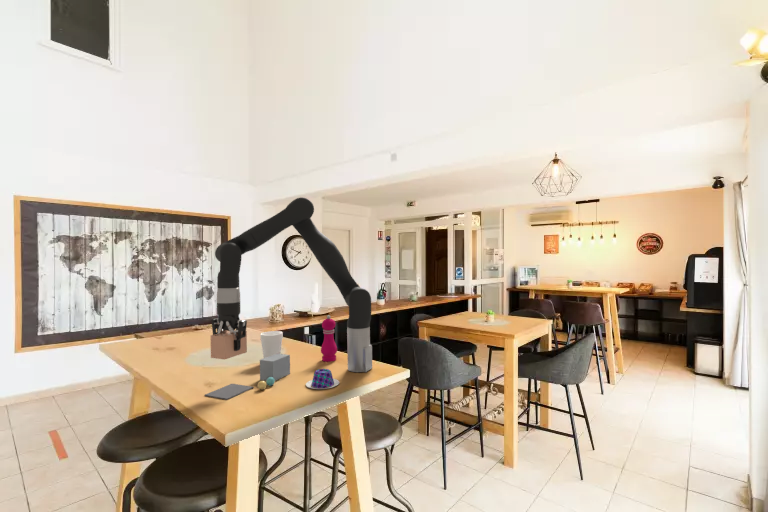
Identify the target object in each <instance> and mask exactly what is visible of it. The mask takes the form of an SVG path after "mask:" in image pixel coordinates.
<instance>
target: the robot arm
mask: <svg viewBox="0 0 768 512" xmlns="http://www.w3.org/2000/svg"><path fill="white" fill-rule="evenodd" d="M314 212H315V208H314V203H313V202H312V201H311V200H310V199H309V198H307V197H301V196H300V197H297V198H295V199H293V200H292V201H290V202H289V203H288V204H287V206H286V207H285V208H284V209H282V210H281V211H279V212H278V213H276V214H275V215H273V216H271V217H269V218H267V219H265V220H264V221H261V222H259V223H258V224H256V225H254V226H252V227H250V228H248V229H247V230H245V231H243V232H242V233H241V234H239V235H238V236H237V235H236V236H235V237H233V238H230V239H229V240H227V241H224V242H223V243H221V244H219V245H218V246H217V247H216V249H215V252H214V255H215V258H216V260H217V261H218V262H219V272H217V277H216V278H217V279H216V280H217V282H216V283H217V285H216V287H217V288H216V289H217V290H216V315H217V316H218V318H212V319H211V330H212V335H214V334H218V333H223V332H227V331H230V334H233V338H234V351H238V350H240V348H241V338H243V337H245V336H246V331H247V323H248V321H247V319H240V317H239V316H240V314H241V291H240V271H241V265H242V256H243V255H245V253H248V252H251V251H254V250H255V249H257V248H259V247H261V246H262V245H264V244H265V243H267V242H269V241H270V240H272V239H273V238H274V237H275V236H277V235H278V234H280V233H282V232H283V231H285V230H286V229H287V228H289V227H291V226H292V227H293V228H294V229H295V231H297V233H298V234H299V235H300V236H301V237H302V239H303V240H304V242H305V244H306V245H307V247H308V248H309V249H310V251H311V253H312V254H313V256H314V257H315V259H316V260H317V262H318V263H319V264H320V266H321V268H322V269H323V270H324V271H325V273H326V274H327V276H328V277H329V278H330V279H331V280H332V282H333V283H334V284H335V285H336V287H337V289H338V290H339V293H340V294H341V297H342V298H343V300H344V302H345V304H346V305H347V306H348V319H347V322H346V328H347V329H346V333H347V334H346V336H347V337H346V339H347V342H346V343H347V345H346V346H347V351H346V352H347V353H346V354H347V370H348V371H349V372H352V373H368V371H370V370H371V369H373V345H372V344H371V330H370V329H371V327H370V326H371V320H372V297H371V294H370V292H369V291H368V290H367V289H366V288H364V287H363V288H362V287H361V286H360V285H359V284H358V283H357V282H356V280H355V279H354V278H353V276H352V275H351V272H350V270H349V267H348V266H347V263H346V261H345V258H344V257H343V255H342V253H341V252H340V250H339V249H338V247H337V245H336V244H335V243H334V242H333V241H332V240H331V239H330V238H329V237H328V236H326V235H325V234H324V233H323V232H321V231H320V230H319V229H318V228H317V226H316V225H315V223H314V222H313V220H312V219H311V218H312V216H313V215H314ZM234 330H235V331H234ZM236 333H238V336H236Z"/></svg>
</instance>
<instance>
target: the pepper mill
mask: <svg viewBox="0 0 768 512" xmlns="http://www.w3.org/2000/svg"><path fill="white" fill-rule="evenodd" d="M321 327H322V331H323V332H322V333H323V342H322V344H321V348H320V354H322V356H321V361H323V362H326V363H329V362H335V361H336V360H337V352H338V347H337V343H336V342H335V339H334V338H335V337H334V334H335V327H336V321H335V319H332V318H331V315H330V314H328V315H327V316H326V318H325V319H323V320H322V321H321Z"/></svg>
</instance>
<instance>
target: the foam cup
mask: <svg viewBox="0 0 768 512" xmlns="http://www.w3.org/2000/svg"><path fill="white" fill-rule="evenodd" d="M283 333H284V332H283V331H279V330H278V331H277V330H274V331H273V330H272V331H265V332H264V331H263V332H261V333H260V335H259V337H260V343H261V348H262V349H261V350H262V355H263V359H264V358H266V357H269V356H272V355H274V354H282V353H281V352H282V343H283V338H284V336H283Z"/></svg>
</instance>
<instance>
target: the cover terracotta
mask: <svg viewBox="0 0 768 512" xmlns="http://www.w3.org/2000/svg"><path fill="white" fill-rule="evenodd" d="M235 330H236V329H235ZM235 330H234V331H235ZM247 335H248V331H247V330H246V336H245V337H243V338H241V348H240V350H238V351H234V338H233V334H230V331H227V332H223V333H218V334H214V335H213V334H211V335H210V358H211V359H215V360H216V359H218V360H228V359H230V358H231V359H232V358H234V357H237V356H240V355H242V354H246V353H247V352H248V347H247V346H248V342H247V341H248V338H247V337H248V336H247ZM236 336H238V333H236Z"/></svg>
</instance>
